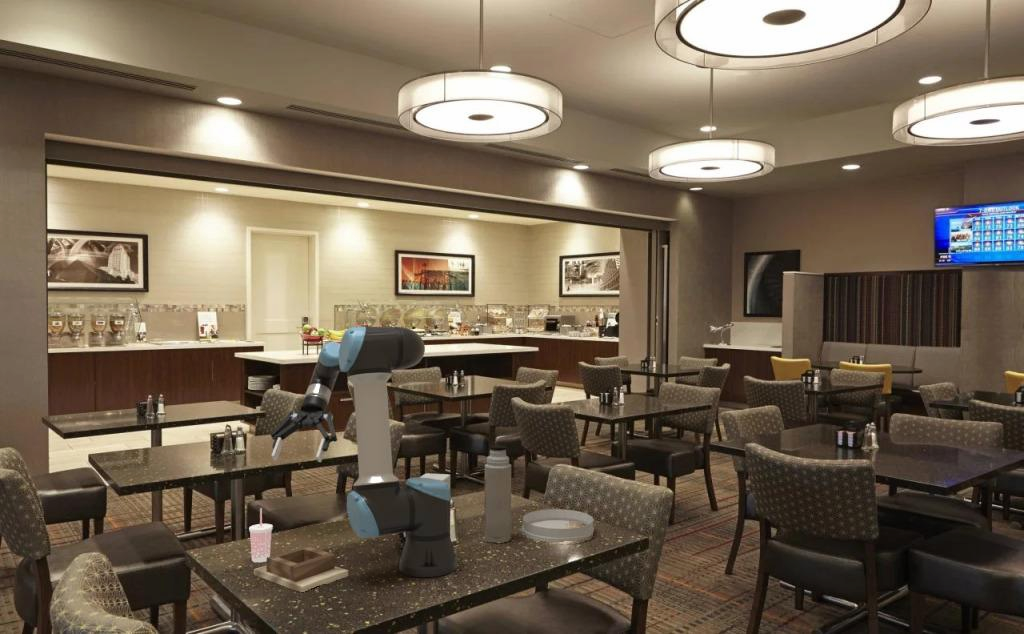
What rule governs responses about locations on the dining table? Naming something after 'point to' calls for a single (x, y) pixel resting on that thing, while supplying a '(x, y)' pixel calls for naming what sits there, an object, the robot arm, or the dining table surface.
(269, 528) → the beverage cup
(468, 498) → the dining table surface
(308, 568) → the collar stand
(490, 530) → the thermos bottle
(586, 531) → the dish
